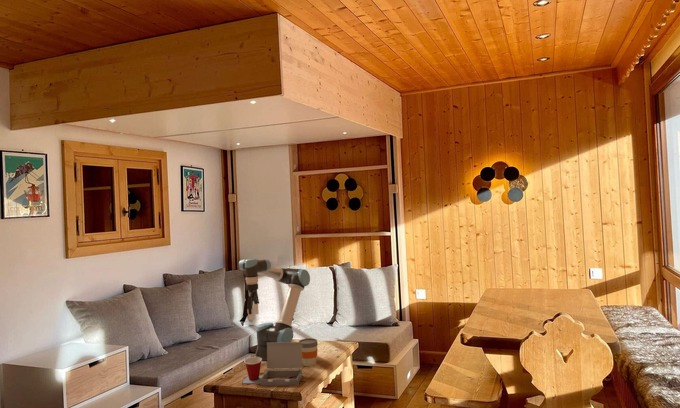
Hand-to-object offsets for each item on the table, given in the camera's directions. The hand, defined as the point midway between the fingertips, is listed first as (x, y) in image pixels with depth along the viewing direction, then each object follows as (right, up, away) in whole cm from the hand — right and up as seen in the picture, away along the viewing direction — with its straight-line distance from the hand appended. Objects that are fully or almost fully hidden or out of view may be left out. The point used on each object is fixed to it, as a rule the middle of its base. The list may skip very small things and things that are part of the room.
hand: (253, 316), depth 340 cm
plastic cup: (+3, -35, -16) cm, 38 cm away
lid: (+20, -22, -11) cm, 32 cm away
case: (+20, -34, -19) cm, 44 cm away
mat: (+3, -35, -16) cm, 39 cm away
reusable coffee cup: (+35, -33, +11) cm, 49 cm away
